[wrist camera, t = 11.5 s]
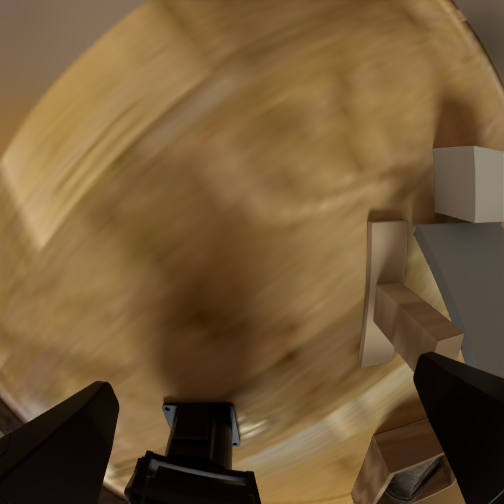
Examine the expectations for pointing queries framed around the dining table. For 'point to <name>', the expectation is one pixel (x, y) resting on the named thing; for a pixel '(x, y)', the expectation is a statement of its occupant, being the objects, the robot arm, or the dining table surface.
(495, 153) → the pale grey cube
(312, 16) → the dining table surface
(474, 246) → the dark grey slab
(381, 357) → the stand
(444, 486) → the open wooden box
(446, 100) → the dining table surface
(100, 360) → the dining table surface
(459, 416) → the robot arm
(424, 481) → the chocolate cake
